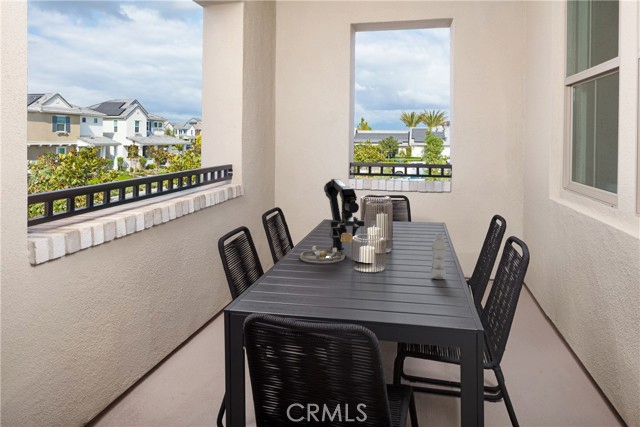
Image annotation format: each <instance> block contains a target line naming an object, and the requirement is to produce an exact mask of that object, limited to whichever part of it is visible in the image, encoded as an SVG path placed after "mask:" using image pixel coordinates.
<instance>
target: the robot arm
mask: <svg viewBox="0 0 640 427" xmlns="http://www.w3.org/2000/svg"><path fill="white" fill-rule="evenodd" d="M323 192H324V193H325V196H326V197H327V199H328V200H329V205H330V211H331V218H332V220H330V221H328V226H329V227H330V231H329V233H328V235H329V237H328V238H330V239H332V245H331V246H330V248H331V250H333V248H337V250H344V249H345V248H344V246H343V242H341V241H340V239H341V235H342V233H348V230H347V229H348V228H347V227H352V228H351V229H352V231H351V235H352V236H354V237H355V235H356V232H357V231H358V229H360V228H361V227H365V224H366V222H365V221H364V220H362V219H359V217H358V216H353V214H355V213H357V212H358V211H359V210H360V209H359V208H360V206H359V204H358V203H357V202H356V201H357V198H358V197H357V194H356V192H355V189H354V187H352V186H349V185H348V186H347V185H346V184H345V183H344V182H342V181H341V179H340V178H331V179H330V181H328V182H326V183H325V185H324V187H323ZM338 195H339V196H338ZM338 197H340V202H341V212H340V206H339V200H338Z"/></svg>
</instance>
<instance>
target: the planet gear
mask: <svg viewBox="0 0 640 427" xmlns="http://www.w3.org/2000/svg"><path fill="white" fill-rule="evenodd" d="M352 237H353V236H352V232H347V233H342V235H341V239H340V241H341V242H342V243H352V242H353V241H352Z"/></svg>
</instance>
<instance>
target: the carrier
mask: <svg viewBox="0 0 640 427" xmlns="http://www.w3.org/2000/svg"><path fill="white" fill-rule="evenodd" d="M299 256H300V260H301V261H303V262H306V263H309V264H310V263H311V264H318V265H319V264H320V265H321V264H323V265H326V264H335V263H339V262H343V261H344V260H345V257H346V255H345V253H344V252H343V251H339V250H338V249H337V248H333V249H324V248H323V249H317V246H316V245H313V246H312V247H311V250H305V251H301V253H299Z"/></svg>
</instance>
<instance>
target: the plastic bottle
mask: <svg viewBox="0 0 640 427" xmlns="http://www.w3.org/2000/svg"><path fill="white" fill-rule="evenodd" d="M434 239H435V240H434V241H433V243H432V244H431V252H432V255H431V256H432V261H431V267H430V277H431V278H432V279H435V280H443V279H445V277H446V274H447V272H446V255H447V249H448V245H447V244H446V241H445V235H444V234H441V233H436V234H435V236H434Z"/></svg>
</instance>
